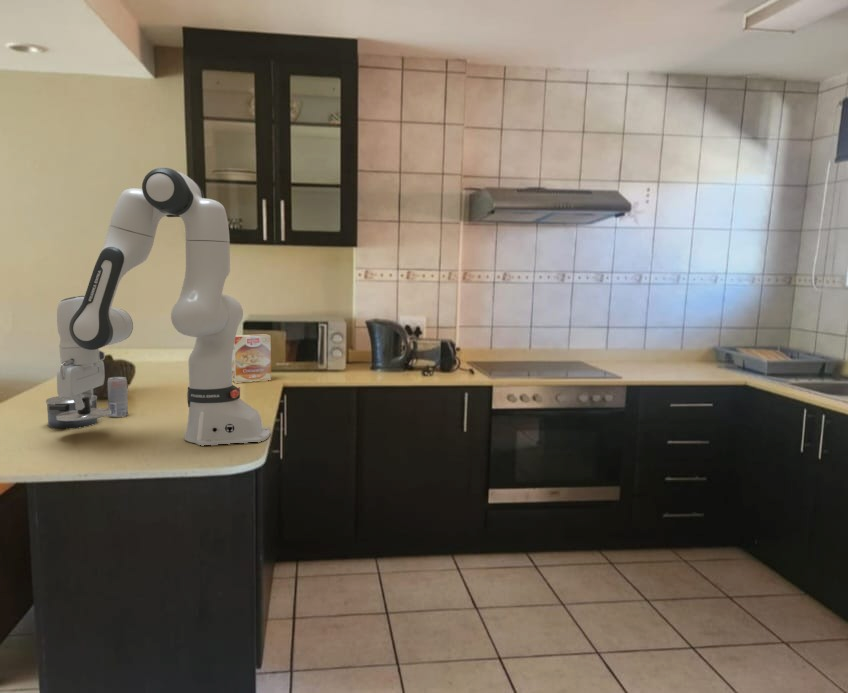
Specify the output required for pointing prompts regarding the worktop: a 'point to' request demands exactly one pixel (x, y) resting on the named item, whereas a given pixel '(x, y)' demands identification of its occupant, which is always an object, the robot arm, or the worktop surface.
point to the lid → (84, 413)
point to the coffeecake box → (251, 358)
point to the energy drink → (117, 396)
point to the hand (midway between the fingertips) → (84, 407)
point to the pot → (64, 405)
